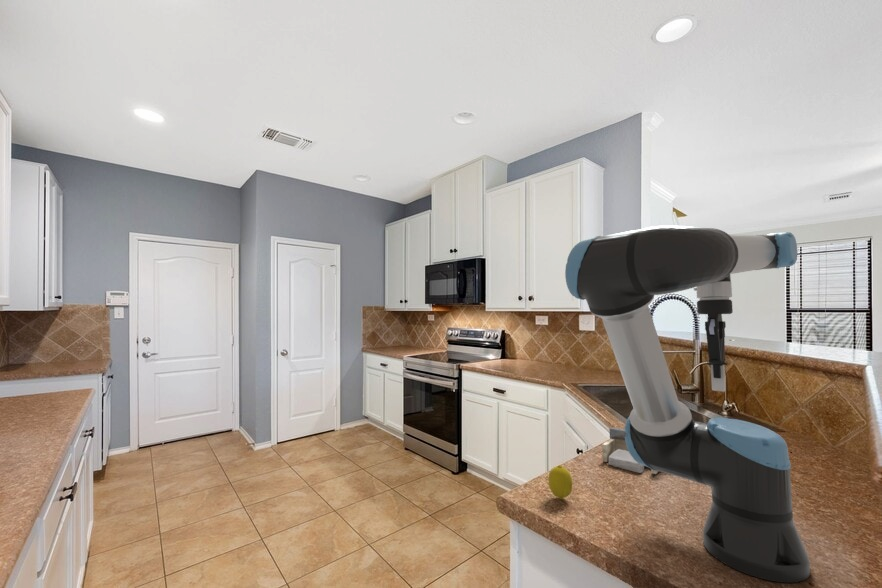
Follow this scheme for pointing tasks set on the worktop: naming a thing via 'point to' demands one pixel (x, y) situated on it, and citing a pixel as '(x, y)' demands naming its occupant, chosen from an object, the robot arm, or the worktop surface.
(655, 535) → the worktop surface
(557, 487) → the lemon
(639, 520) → the worktop surface
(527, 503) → the worktop surface
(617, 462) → the grey stone block
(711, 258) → the robot arm
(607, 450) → the cradle
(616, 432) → the wall
